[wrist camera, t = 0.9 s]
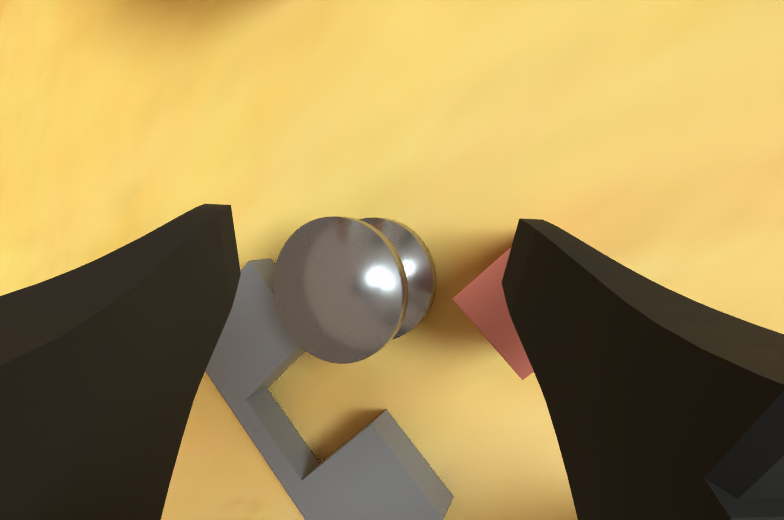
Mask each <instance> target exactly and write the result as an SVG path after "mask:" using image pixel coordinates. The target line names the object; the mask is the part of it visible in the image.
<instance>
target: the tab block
mask: <svg viewBox="0 0 784 520" xmlns="http://www.w3.org/2000/svg"><path fill="white" fill-rule="evenodd" d="M510 250H511V247H510V248H509V249H508V250H507V251H506V252H505V253H504V254H503V255H501V256H500V257H499V258H498V259H497V260H496V261H495V262H493V263H492V264H491V265H490V266H489V267H488V268H487V269H485V270H484V271H483V272H482V273H481V274H480V275H479V276H478V277H476V278H475V279H474V280H473V281H472V282H471V283H470V284H468V285H467V286H466V287H465V288H464V289H463V290H462V291H461V292H459V293H458V294H457V295H456V296H455V297H454V298H453V300H454V302H455V303H456V304H457V305H458V306H459V307H460V309H461V310H462V311H463V312H464V313H465V314H466V315H467V317H468V318H469V319H470V320H471V321H472V322H473V324H474V325H475V326H476V327H477V328H478V329H479V330H480V332H481V333H482V334H483V335H484V336H485V337H486V339H487V340H488V341H489V342H490V343H491V344H492V345H493V347H494V348H495V349H496V350H497V351H498V352H499V354H500V355H501V356H502V357H503V358H504V359H505V361H506V362H507V363H508V364H509V365H510V366H511V367H512V369H513V370H514V371H515V372H516V373H517V374H518V376H519V377H520V378H521V379H522V380H523V379H525V378H526V377H527V376H529V375H530V374H531V373H533V372H534V371H533V368H532V366H531V364H530V361H529V359H528V357H527V355H526V352H525V350H524V348H523V345H522V343H521V341H520V338H519V336H518V334H517V331H516V329H515V327H514V324H513V322H512V319H511V317H510V314H509V311H508V307H507V304H506V300H505V296H504V291H503V287H502V283H501V282H502V279H503V275H504V272H505V268H506V264H507V261H508V257H509V254H510Z"/></svg>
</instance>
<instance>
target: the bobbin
mask: <svg viewBox="0 0 784 520" xmlns="http://www.w3.org/2000/svg"><path fill="white" fill-rule="evenodd" d="M435 289H436V273H435V267H434V263H433V260H432V257H431V255H430V252H429V250H428V249H427V247H426V245H425V244H424V242H423V241H422V240H421V238H420V237H419V236H418V235H417V234H416V233H415V232H414V231H412V230H411V229H410V228H408V227H407V226H405V225H403V224H402V223H399V222H397V221H394V220H390V219H386V218H364V219H359V220H358V219H354V218H349V217H324V218H319V219H316V220H313V221H310V222H308V223H307V224H305V225H303V226H302V227H300V228H299V229H298V230H296V231H295V232H294V233H293V234H292V235H291V236H290V238H289V239H288V240H287V242H286V243H285V245H284V247H283V248H282V250H281V252H280V255H279V257H278V260H277V264H276V267H275V273H274V296H275V302H276V306H277V310H278V313H279V315H280V318H281V320H282V322H283V324H284V326H285V328H286V329H287V331H288V332H289V334H290V335H291V337H292V338H293V339H294V340H295V341H296V343H298V344H299V345H300V346H301V347H302V348H303V349H304V350H306V351H307V352H308V353H310V354H311V355H313V356H315V357H317V358H319V359H322V360H324V361H328V362H332V363H340V364H343V363H353V362H358V361H360V360H363V359H366V358H367V357H369V356H371V355H373V354H374V353H376V352H378V351H379V350H381V349H382V348H383V347H384V346H386V345H387V344H388V343H389V342H390V341H391V340H392V339H395V338H397V337H400V336H402V335H403V334H405V333H407V332H408V331H410V330H412V329H413V328H414V327H415V326H417V325H418V324H419V323H420V322H421V321H422V320H423V318H424V317H425V316H426V314H427V313H428V311H429V309H430V307H431V304H432V302H433V299H434V295H435Z"/></svg>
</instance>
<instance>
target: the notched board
mask: <svg viewBox="0 0 784 520" xmlns="http://www.w3.org/2000/svg"><path fill="white" fill-rule="evenodd" d="M275 267H276V265H275V263H274V262H273V261H272V260H271V259H262V260H253V261H249V262H248V263H247V264H246V265H245V266H244V268H243V269H242V270H241V271H240V272H241V275H240V279H239V283H238V287H237V291H236V295H235V299H234V303H233V306H232V309H231V311H230V314H229V316H228V319H227V321H226V323H225V326H224V328H223V331H222V333H221V335H220V338H219V340H218V342H217V345H216V347H215V349H214V352H213V354H212V356H211V359H210V361H209V363H208V365H207V368H206V370H205V371H206V373H207V374H208V376H209V377H210V379H211V380H212V382H213V383H214V385H215V386H216V388H217V389H218V391H219V392H220V394H221V395H222V397H223V398H224V400H225V401H226V403H227V404H228V406H229V407H230V408H231V410H232V411H233V413H234V414H235V416H236V417H237V419H238V420H239V422H240V423H241V425H242V426H243V428H244V429H245V431H246V432H247V434H248V435H249V437H250V438H251V440H252V441H253V443H254V444H255V446H256V447H257V449H258V450H259V452H260V453H261V454H262V456H263V457H264V459H265V460H266V462H267V463H268V465H269V466H270V468H271V469H272V471H273V472H274V474H275V475H276V477H277V478H278V480H279V481H280V483H281V484H282V486H283V487H284V489H285V490H286V492H287V493H288V495H289V496H290V498H291V499H292V501H293V502H294V503H295V505H296V506H297V508H298V509H299V511H300V512H301V514H302V515H303V517H304V518H305V520H443V519H444V517H445V515H446V512H447V510H448V508H449V506H450V504H451V501H452V499H453V495H452V494H451V493H450V491H449V490H448V489H447V488H446V486H445V485H444V484H443V482H442V481H441V480H440V478H439V477H438V476H437V475H436V473H435V472H434V471H433V469H432V468H431V467H430V465H429V464H428V463H427V461H426V460H425V459H424V458H423V456H422V455H421V454H420V452H419V451H418V450H417V448H416V447H415V446H414V445H413V443H412V442H411V441H410V439H409V438H408V437H407V435H406V434H405V433H404V432H403V430H402V429H401V428H400V426H399V425H398V424H397V422H396V421H395V420H394V419H393V417H392V416H391V415H390V413H389V412H388V411H387V409H386V410H385V411H384V412H383V413H381V414H380V415H379V416H378V417H376V418H375V419H374V420H373V421H372V422H370V423H369V424H368V425H367V426H365V427H364V428H363V429H362V430H361V431H359V432H358V433H357V434H356V435H354V436H353V437H352V438H351V439H349V440H348V441H347V442H346V443H345V444H343V445H342V446H341V447H340V448H338V449H337V450H336V451H335V452H334V453H332V454H331V455H330V456H329V457H327V458H326V459H325V460H324V461H323V462H321V463H319V462H318V460H317V459H316V457H315V456H314V454H313V453H312V452H311V450H310V449H309V447H308V446H307V445H306V443H305V442H304V440H303V439H302V437H301V436H300V435H299V433H298V432H297V430H296V429H295V428H294V426H293V425H292V423H291V422H290V420H289V419H288V418H287V416H286V415H285V413H284V412H283V410H282V409H281V408H280V406H279V405H278V403H277V402H276V401H275V399H274V398H273V396H272V395H271V393H270V392H269V391H268V389H267V388H268V387H269V386H270V385H271V384H272V383H273V382H274V381H275V380H276V379H277V378H278V377H279V376H280V375H281V374H282V373H283V372H284V371H285V370H286V369H287V368H288V367H289V366H290V365H291V364H292V363H293V362H294V361H295V360H296V359H297V358H298V357H299V356H300V355H301V354H302V353H303V352H304V351H305V350H304V349H303V348H302V347H301V346H300V345H299V344H298V343H296V341H295V340H294V339H293V338H292V337H291V335H290V334H289V332H288V331H287V329H286V328H285V326H284V324H283V322H282V320H281V318H280V315H279V313H278V310H277V306H276V302H275V296H274V273H275Z"/></svg>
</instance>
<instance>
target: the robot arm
mask: <svg viewBox="0 0 784 520" xmlns="http://www.w3.org/2000/svg"><path fill="white" fill-rule="evenodd" d="M240 275H241V272H240V266H239V259H238V252H237V245H236V238H235V231H234V224H233V217H232V210H231V205H217V204H203V205H201V206H198V207H196V208H194V209H192V210H190V211H188V212H186V213H184V214H183V215H181V216H179V217H177V218H175V219H174V220H172V221H170V222H168V223H166V224H165V225H163V226H161V227H159V228H157V229H156V230H154V231H152V232H150V233H148V234H146V235H145V236H143V237H141V238H139V239H137V240H135V241H133V242H131V243H129V244H127V245H125V246H123V247H121V248H119V249H117V250H115V251H113V252H111V253H109V254H107V255H105V256H103V257H101V258H99V259H97V260H95V261H92V262H90V263H88V264H86V265H83V266H81V267H79V268H76V269H74V270H71V271H69V272H66V273H64V274H61V275H59V276H56V277H54V278H51V279H49V280H46V281H44V282H41V283H38V284H35V285H32V286H29V287H26V288H23V289H20V290H17V291H14V292H11V293H8V294H5V295H2V296H0V520H161V516H162V512H163V508H164V504H165V500H166V496H167V492H168V488H169V484H170V480H171V476H172V473H173V469H174V466H175V462H176V458H177V455H178V451H179V448H180V444H181V440H182V437H183V434H184V430H185V427H186V424H187V420H188V417H189V414H190V410H191V407H192V404H193V401H194V398H195V395H196V392H197V390H198V387H199V384H200V382H201V379H202V377H203V375H204V372H205V370H206V368H207V365H208V363H209V361H210V359H211V356H212V354H213V352H214V349H215V347H216V345H217V342H218V340H219V338H220V335H221V333H222V331H223V328H224V326H225V323H226V321H227V319H228V316H229V314H230V311H231V309H232V306H233V303H234V299H235V295H236V291H237V287H238V283H239V279H240ZM501 283H502V287H503V291H504V296H505V300H506V304H507V307H508V311H509V314H510V317H511V319H512V322H513V324H514V327H515V329H516V331H517V334H518V336H519V338H520V341H521V343H522V345H523V348H524V350H525V352H526V355H527V357H528V359H529V361H530V364H531V366H532V368H533V371H534V373H535V375H536V378H537V380H538V382H539V385H540V387H541V390H542V392H543V395H544V398H545V400H546V403H547V407H548V410H549V413H550V416H551V420H552V423H553V426H554V429H555V433H556V436H557V440H558V443H559V447H560V450H561V454H562V458H563V461H564V465H565V469H566V472H567V476H568V480H569V484H570V488H571V493H572V497H573V501H574V505H575V509H576V513H577V518H578V520H784V334H781V333H778V332H775V331H772V330H769V329H766V328H763V327H760V326H757V325H755V324H752V323H749V322H746V321H744V320H741V319H739V318H736V317H733V316H731V315H728V314H725V313H723V312H720V311H717V310H715V309H713V308H710V307H708V306H705V305H703V304H700V303H698V302H696V301H694V300H691V299H689V298H687V297H685V296H683V295H680V294H678V293H676V292H674V291H672V290H669V289H667V288H665V287H663V286H661V285H659V284H657V283H655V282H653V281H651V280H649V279H647V278H645V277H643V276H642V275H640V274H638V273H636V272H634V271H632V270H630V269H629V268H627V267H625V266H623V265H621V264H620V263H618V262H616V261H614V260H613V259H611V258H609V257H608V256H606V255H604V254H602V253H601V252H599V251H597V250H596V249H594V248H592V247H591V246H589V245H587V244H586V243H584V242H582V241H581V240H579V239H577V238H576V237H574V236H572V235H571V234H569V233H567V232H566V231H564V230H562V229H560V228H559V227H557V226H555V225H553V224H551V223H549V222H547V221H544V220H537V219H519V222H518V226H517V229H516V233H515V236H514V240H513V243H512V247H511V250H510V254H509V257H508V261H507V264H506V268H505V272H504V275H503V279H502V282H501Z"/></svg>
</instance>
